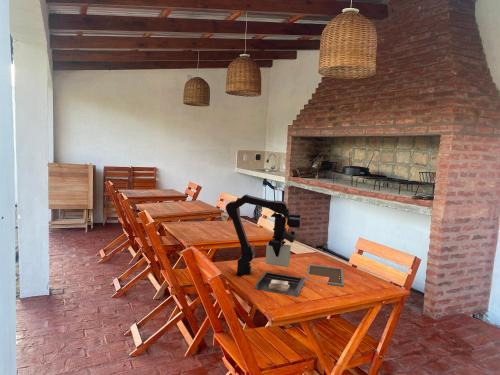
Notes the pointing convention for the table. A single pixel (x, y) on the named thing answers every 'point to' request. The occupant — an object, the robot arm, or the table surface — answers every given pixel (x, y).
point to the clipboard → (327, 274)
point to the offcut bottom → (279, 288)
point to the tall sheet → (281, 259)
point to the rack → (266, 278)
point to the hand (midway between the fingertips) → (277, 256)
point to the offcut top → (279, 283)
